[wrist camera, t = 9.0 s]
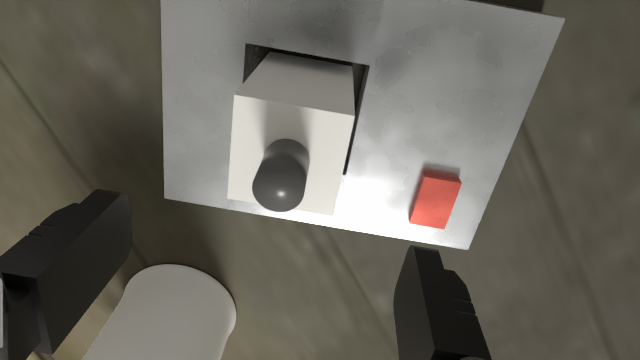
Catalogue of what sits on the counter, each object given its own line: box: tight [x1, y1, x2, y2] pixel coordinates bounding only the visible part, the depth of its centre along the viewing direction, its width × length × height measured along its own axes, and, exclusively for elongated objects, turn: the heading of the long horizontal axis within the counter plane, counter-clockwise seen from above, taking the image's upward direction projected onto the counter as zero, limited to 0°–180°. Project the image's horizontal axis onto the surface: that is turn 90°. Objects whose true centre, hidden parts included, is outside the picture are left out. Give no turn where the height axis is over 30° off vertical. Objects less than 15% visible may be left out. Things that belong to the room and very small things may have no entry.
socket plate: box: [161, 0, 565, 250], centre depth 22 cm, size 18×13×3 cm
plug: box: [227, 52, 355, 217], centre depth 19 cm, size 4×4×10 cm
